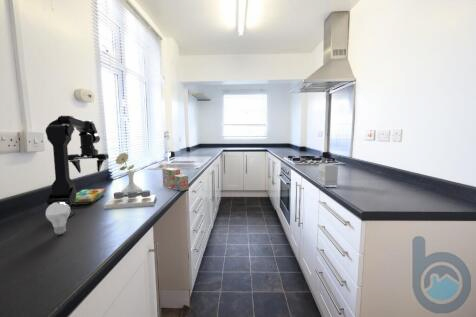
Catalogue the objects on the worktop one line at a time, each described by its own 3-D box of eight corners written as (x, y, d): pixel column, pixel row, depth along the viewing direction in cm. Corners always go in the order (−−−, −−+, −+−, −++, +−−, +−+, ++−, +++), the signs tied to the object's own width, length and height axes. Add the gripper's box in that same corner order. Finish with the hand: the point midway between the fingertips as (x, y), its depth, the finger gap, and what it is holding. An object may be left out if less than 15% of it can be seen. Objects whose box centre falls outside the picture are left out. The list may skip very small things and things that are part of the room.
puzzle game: (105, 187, 131) (90, 197, 111) (106, 195, 131) (91, 206, 112) (83, 188, 128) (64, 198, 109) (83, 196, 129) (65, 207, 109)
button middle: (136, 197, 114) (135, 193, 114) (126, 198, 113) (126, 193, 113) (137, 195, 118) (137, 190, 118) (129, 195, 117) (128, 191, 117)
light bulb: (52, 240, 76) (49, 206, 74) (44, 235, 79) (41, 203, 78) (76, 232, 82) (73, 201, 80) (67, 228, 85) (64, 198, 84)
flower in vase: (137, 190, 140) (135, 151, 137) (145, 194, 132) (143, 152, 129) (115, 194, 131) (112, 152, 128) (122, 198, 123) (119, 153, 120)
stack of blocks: (188, 189, 143) (188, 170, 141) (180, 191, 138) (179, 172, 137) (171, 184, 157) (170, 167, 156) (162, 185, 153) (162, 168, 151)
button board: (153, 205, 112) (153, 201, 111) (104, 208, 107) (104, 204, 107) (156, 198, 123) (156, 194, 123) (112, 201, 118) (112, 197, 118)
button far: (149, 196, 116) (149, 192, 115) (140, 197, 115) (140, 192, 114) (150, 194, 120) (150, 190, 119) (142, 195, 119) (141, 190, 118)
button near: (122, 198, 113) (122, 193, 112) (112, 199, 112) (112, 194, 111) (124, 196, 117) (124, 191, 117) (115, 196, 116) (115, 192, 116)
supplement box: (330, 184, 155) (331, 163, 153) (337, 187, 146) (338, 165, 144) (317, 184, 154) (318, 163, 152) (324, 188, 145) (325, 165, 143)
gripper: (110, 143, 131) (112, 169, 132) (74, 143, 126) (77, 170, 128) (104, 144, 120) (106, 172, 122) (64, 144, 116) (67, 174, 117)
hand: (89, 172), depth 123 cm, fingers open, 9 cm apart
